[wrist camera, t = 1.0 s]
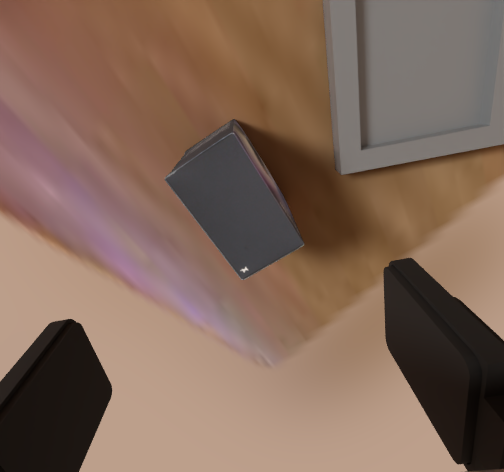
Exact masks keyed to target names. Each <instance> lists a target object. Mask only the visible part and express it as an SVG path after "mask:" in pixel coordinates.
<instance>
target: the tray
mask: <svg viewBox="0 0 504 472" xmlns="http://www.w3.org/2000/svg"><path fill="white" fill-rule="evenodd" d="M323 11H324V24H325V37H326V51H327V64H328V77H329V91H330V104H331V118H332V131H333V144H334V158H335V170H336V171H338V172H339V173H340V174H341V175H344V174H349V173H355V172H360V171H365V170H370V169H376V168H381V167H386V166H391V165H397V164H402V163H407V162H412V161H418V160H423V159H428V158H433V157H439V156H444V155H449V154H455V153H460V152H465V151H470V150H476V149H481V148H486V147H491V146H497V145H502V144H504V0H323Z"/></svg>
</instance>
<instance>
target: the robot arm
mask: <svg viewBox="0 0 504 472" xmlns="http://www.w3.org/2000/svg"><path fill="white" fill-rule="evenodd" d="M384 300H385V333H386V342H387V346H388V349H389V351H390V353H391V354H392V356H393V358H394V359H395V361H396V363H397V365H398V366H399V368H400V369H401V371H402V373H403V375H404V377H405V378H406V380H407V382H408V383H409V385H410V386H411V388H412V390H413V392H414V394H415V395H416V397H417V398H418V400H419V402H420V404H421V406H422V407H423V409H424V411H425V412H426V414H427V416H428V417H429V419H430V421H431V423H432V424H433V426H434V428H435V429H436V431H437V433H438V435H439V436H440V438H441V440H442V442H443V443H444V445H445V447H446V448H447V450H448V452H449V454H450V455H451V457H452V458H453V460H454V461H455V462H456V463H457V464H464V466H465V467H466V469H467V471H468V472H504V341H503V340H502V339H501V338H500V337H499V336H498V335H497V334H496V333H495V332H494V331H493V330H492V329H490V327H488V326H487V325H486V324H485V323H484V322H483V321H482V320H481V319H480V318H479V317H478V316H476V314H474V313H473V312H472V311H471V310H470V309H469V308H468V307H467V306H466V305H465V304H464V303H463V302H462V301H460V300H459V299H457V298H456V297H453V296H451V295H450V294H449V293H448V292H447V291H446V290H445V289H444V288H443V287H442V286H441V285H440V284H439V283H438V282H436V281H435V279H433V278H432V277H431V276H430V275H429V274H428V273H427V272H426V271H425V270H424V269H423V268H422V267H421V266H419V264H418V263H417V262H415V261H414V260H413V259H412V258H406V259H401V260H395V261H391V262H390V263H389V267H385V268H384ZM111 395H112V386H111V383H110V381H109V380H108V377H107V375H106V373H105V371H104V369H103V367H102V365H101V363H100V362H99V359H98V357H97V355H96V353H95V351H94V349H93V347H92V345H91V343H90V341H89V339H88V337H87V335H86V333H85V331H84V329H83V327H82V325H81V324H80V323H76V321H74V320H72V319H67V320H62V321H56V322H52V323H50V324H49V325H48V326H47V327H46V328H45V329H44V331H43V332H42V333H41V334H40V335H39V337H38V338H37V339H36V340H35V341H34V343H33V344H32V345H31V346H30V347H29V349H28V350H27V351H26V352H25V353H24V354H23V356H22V357H21V358H20V359H19V360H18V362H17V363H16V364H15V365H14V366H13V368H12V369H11V370H10V371H9V372H8V373H7V374H6V376H5V377H4V378H3V379H2V380H1V382H0V472H79V470H80V468H81V465H82V463H83V461H84V459H85V456H86V454H87V452H88V449H89V447H90V444H91V442H92V440H93V438H94V435H95V433H96V431H97V428H98V426H99V424H100V421H101V419H102V417H103V415H104V412H105V410H106V408H107V405H108V403H109V401H110V398H111Z"/></svg>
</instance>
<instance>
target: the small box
mask: <svg viewBox="0 0 504 472" xmlns="http://www.w3.org/2000/svg"><path fill="white" fill-rule="evenodd" d="M165 181H166V182H167V183H168V185H169V186H170V187H171V189H172V190H173V191H174V193H175V194H176V195H177V197H178V198H179V199H180V200H181V202H182V203H183V204H184V206H185V207H186V208H187V209H188V211H189V212H190V214H191V215H192V216H193V217H194V219H195V220H196V221H197V223H198V224H199V225H200V227H201V228H202V229H203V231H204V232H205V233H206V234H207V236H208V237H209V238H210V240H211V241H212V242H213V243H214V245H215V246H216V247H217V249H218V250H219V251H220V253H221V254H222V255H223V256H224V258H225V259H226V260H227V262H228V263H229V264H230V266H231V267H232V268H233V269H234V271H235V272H236V273H237V275H238V276H239V277H240V278H241V279H242V280H245V279H247V278H248V277H250V276H252V275H253V274H255V273H257V272H259V271H260V270H262V269H264V268H266V267H267V266H269V265H271V264H273V263H274V262H276V261H278V260H280V259H281V258H283V257H285V256H287V255H288V254H290V253H292V252H294V251H295V250H297V249H299V248H300V247H302V246H304V242H303V240H302V237H301V235H300V232H299V230H298V228H297V225H296V223H295V220H294V218H293V216H292V214H291V211H290V209H289V207H288V204H287V202H286V200H285V198H284V196H283V194H282V193H281V191H280V189H279V187H278V186H277V184H276V182H275V181H274V179H273V177H272V176H271V174H270V172H269V171H268V169H267V167H266V166H265V164H264V162H263V161H262V159H261V158H260V156H259V154H258V153H257V151H256V150H255V148H254V146H253V145H252V143H251V142H250V140H249V139H248V137H247V135H246V134H245V132H244V131H243V129H242V128H241V127H240V125H239V124H238V122H237V121H236V120H235V119H233V120H231V121H230V122H228V123H227V124H225V125H224V126H222V127H220V128H219V129H218V130H216V131H215V132H213V133H212V134H210V135H209V136H207V137H206V138H204V139H203V140H201V141H200V142H198V143H197V144H195V145H194V146H193V147H191V148H190V149H188V150H187V151H186V152H185V154H184V156H183V157H182V158H181V160H180V161H179V162H178V163H177V165H176V166H175V167H174V169H173V170H172V172H171V173H170V174H168V175H167V176H166V177H165Z"/></svg>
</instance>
